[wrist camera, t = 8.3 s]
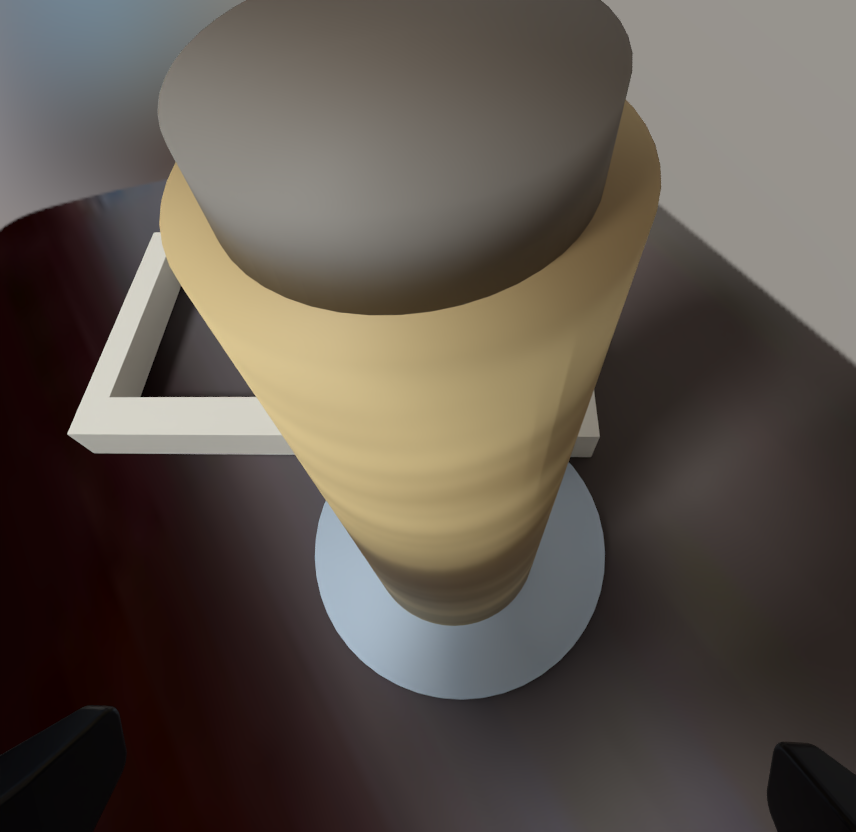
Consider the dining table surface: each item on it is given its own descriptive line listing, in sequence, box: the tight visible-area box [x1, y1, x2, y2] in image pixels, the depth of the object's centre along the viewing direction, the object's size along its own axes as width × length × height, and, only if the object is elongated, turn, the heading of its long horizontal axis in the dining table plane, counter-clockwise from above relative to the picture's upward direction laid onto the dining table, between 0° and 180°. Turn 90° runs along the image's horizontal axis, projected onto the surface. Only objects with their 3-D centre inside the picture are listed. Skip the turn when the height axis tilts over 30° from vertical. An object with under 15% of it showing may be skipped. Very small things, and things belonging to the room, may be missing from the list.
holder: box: [68, 232, 600, 457], centre depth 21 cm, size 10×18×2 cm, turn 87°
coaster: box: [315, 462, 605, 700], centre depth 17 cm, size 9×9×1 cm
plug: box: [158, 0, 661, 626], centre depth 11 cm, size 5×5×14 cm
